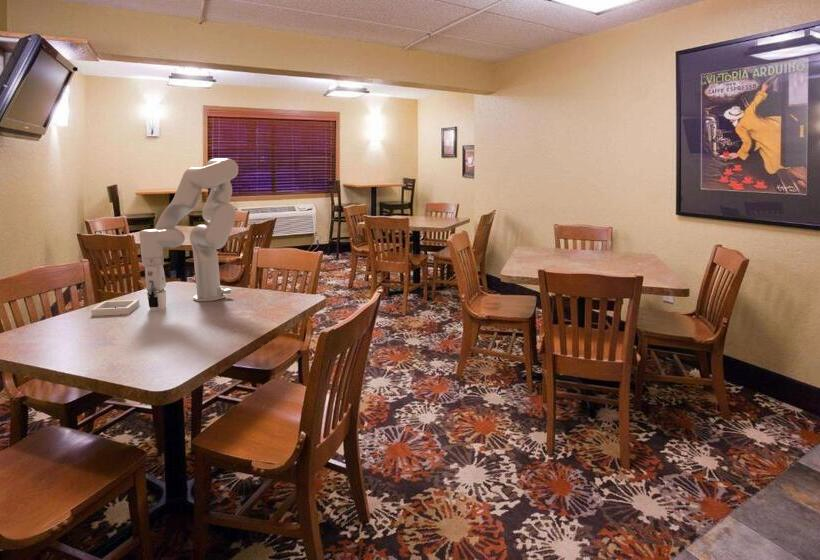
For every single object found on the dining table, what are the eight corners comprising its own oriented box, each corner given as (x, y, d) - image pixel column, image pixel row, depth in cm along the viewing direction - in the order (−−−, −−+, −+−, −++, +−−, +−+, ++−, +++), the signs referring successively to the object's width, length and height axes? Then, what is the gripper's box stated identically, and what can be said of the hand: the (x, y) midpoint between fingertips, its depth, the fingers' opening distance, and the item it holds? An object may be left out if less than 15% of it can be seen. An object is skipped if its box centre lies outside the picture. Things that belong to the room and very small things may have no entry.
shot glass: (171, 307, 197) (169, 290, 196) (154, 311, 191) (152, 294, 190) (161, 305, 201) (159, 288, 199) (144, 309, 195) (142, 292, 194)
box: (139, 305, 200) (138, 299, 200) (129, 314, 188) (128, 307, 188) (104, 307, 198) (103, 301, 197) (91, 316, 186) (91, 309, 185)
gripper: (157, 264, 185) (161, 309, 188) (168, 257, 201) (172, 298, 205) (135, 265, 183) (140, 310, 187) (148, 258, 200) (153, 299, 203)
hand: (157, 303), depth 196 cm, fingers open, 9 cm apart
